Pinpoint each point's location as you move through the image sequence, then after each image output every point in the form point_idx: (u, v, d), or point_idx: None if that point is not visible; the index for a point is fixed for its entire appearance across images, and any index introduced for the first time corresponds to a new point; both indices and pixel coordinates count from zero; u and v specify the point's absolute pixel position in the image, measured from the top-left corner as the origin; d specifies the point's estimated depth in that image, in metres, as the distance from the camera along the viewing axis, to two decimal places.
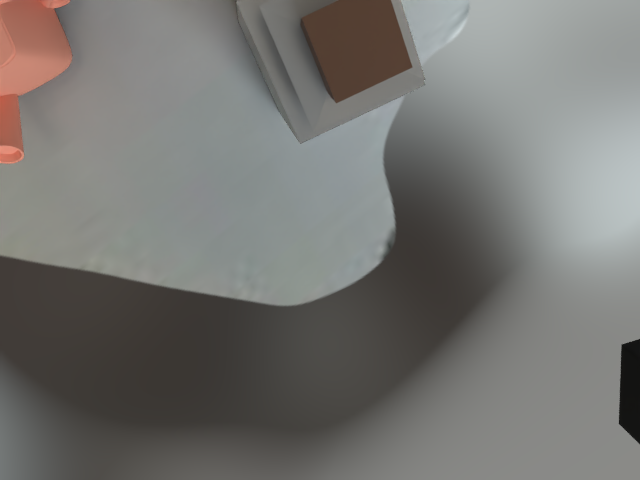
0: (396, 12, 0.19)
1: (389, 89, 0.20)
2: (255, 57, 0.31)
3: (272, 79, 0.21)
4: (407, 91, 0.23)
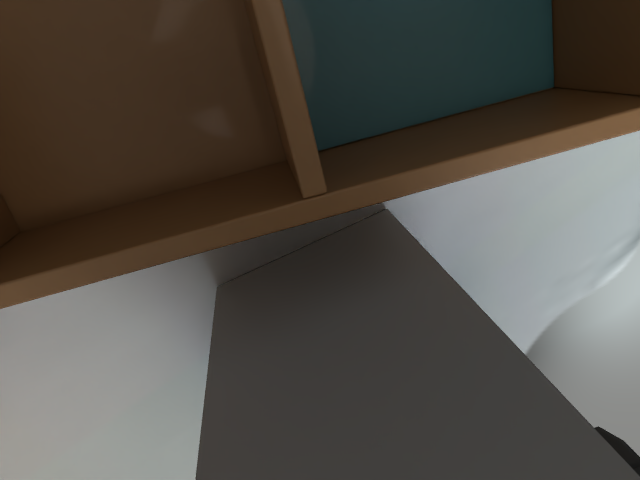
0: None
1: None
2: None
3: None
4: None
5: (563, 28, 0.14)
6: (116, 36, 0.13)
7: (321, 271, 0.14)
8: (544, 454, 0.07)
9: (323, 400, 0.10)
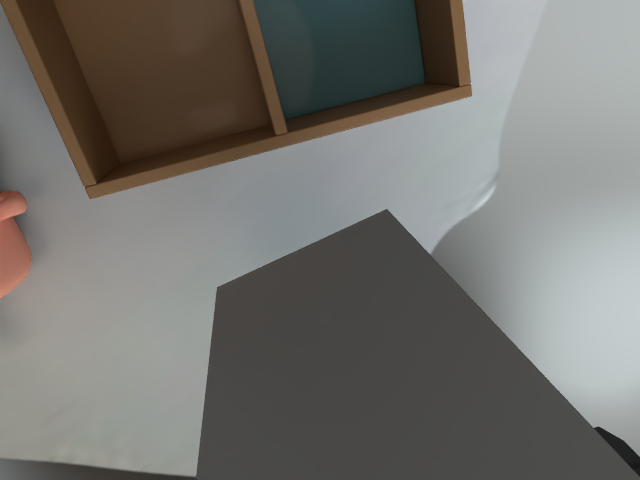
0: None
1: None
2: None
3: None
4: None
5: (425, 49, 0.25)
6: (178, 54, 0.24)
7: (321, 271, 0.15)
8: (543, 453, 0.07)
9: (323, 400, 0.10)
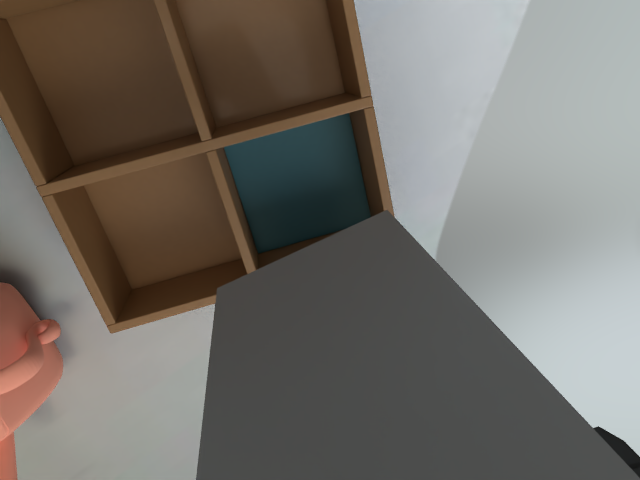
0: None
1: None
2: None
3: None
4: None
5: (369, 200, 0.32)
6: (176, 211, 0.31)
7: (321, 272, 0.14)
8: (545, 456, 0.07)
9: (323, 401, 0.10)
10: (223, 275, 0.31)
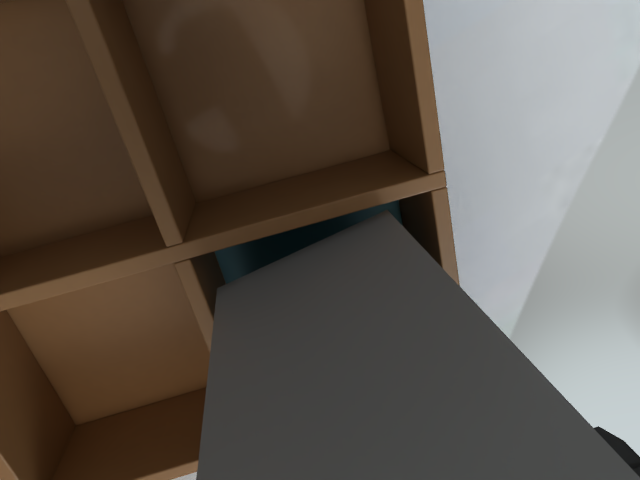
0: None
1: None
2: None
3: None
4: None
5: None
6: (137, 320, 0.21)
7: (321, 272, 0.14)
8: (545, 456, 0.07)
9: (324, 401, 0.10)
10: None
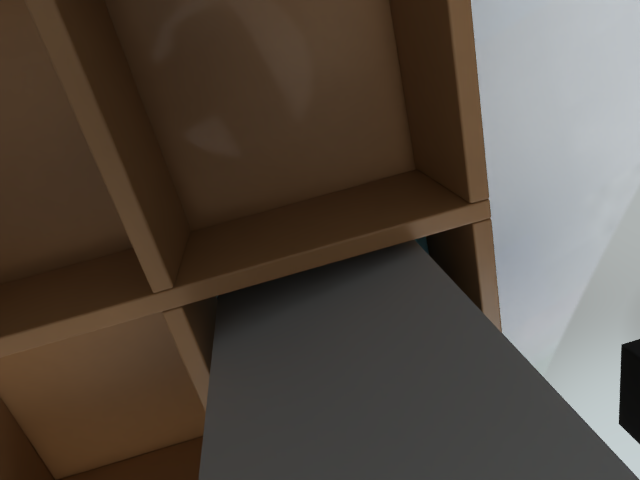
0: None
1: None
2: None
3: None
4: None
5: None
6: (124, 363, 0.18)
7: (320, 266, 0.15)
8: (521, 426, 0.07)
9: (320, 383, 0.10)
10: None
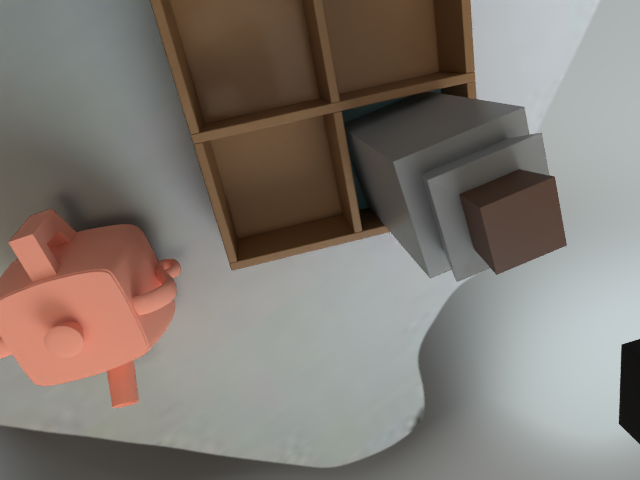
0: None
1: None
2: (357, 162, 0.33)
3: (414, 225, 0.23)
4: None
5: None
6: (285, 169, 0.35)
7: (395, 108, 0.32)
8: (480, 108, 0.24)
9: (408, 123, 0.27)
10: (324, 227, 0.35)
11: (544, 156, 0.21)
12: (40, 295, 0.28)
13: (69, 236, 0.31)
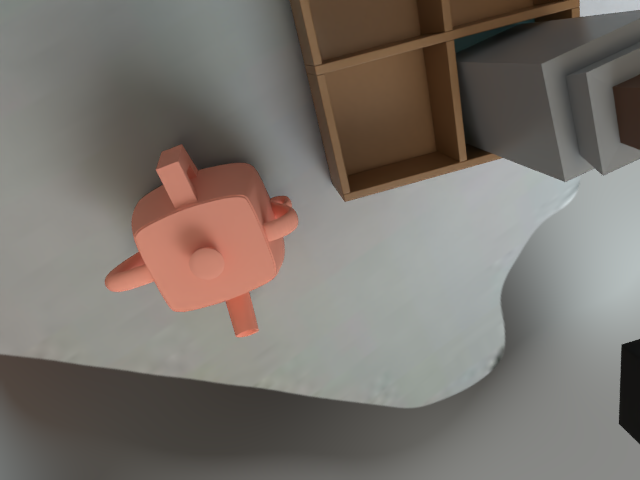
0: None
1: None
2: (460, 94, 0.34)
3: (555, 127, 0.25)
4: None
5: None
6: (385, 107, 0.37)
7: (497, 40, 0.34)
8: (608, 18, 0.26)
9: (528, 43, 0.29)
10: (424, 161, 0.37)
11: None
12: (182, 221, 0.30)
13: (195, 171, 0.33)
